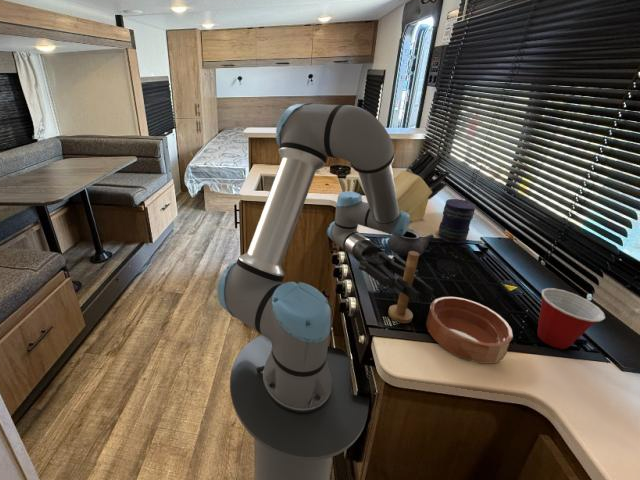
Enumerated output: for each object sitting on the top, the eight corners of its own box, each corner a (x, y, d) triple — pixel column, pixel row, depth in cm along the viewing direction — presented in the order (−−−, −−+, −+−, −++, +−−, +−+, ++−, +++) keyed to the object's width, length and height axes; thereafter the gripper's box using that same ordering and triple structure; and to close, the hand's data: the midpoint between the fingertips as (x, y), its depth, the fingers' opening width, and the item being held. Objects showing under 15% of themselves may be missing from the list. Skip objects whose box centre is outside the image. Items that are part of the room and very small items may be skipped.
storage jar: (450, 244, 120) (460, 209, 114) (431, 233, 129) (439, 200, 123) (472, 241, 122) (482, 207, 116) (452, 230, 130) (460, 197, 125)
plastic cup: (592, 366, 69) (616, 325, 65) (529, 346, 75) (547, 307, 70) (576, 334, 78) (596, 296, 73) (521, 318, 83) (536, 282, 79)
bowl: (434, 355, 73) (440, 336, 71) (419, 308, 88) (423, 292, 85) (518, 373, 68) (527, 353, 66) (488, 320, 83) (494, 303, 81)
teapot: (437, 261, 109) (443, 237, 105) (391, 258, 112) (395, 234, 108) (418, 236, 126) (423, 214, 123) (378, 234, 129) (382, 212, 125)
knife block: (441, 218, 142) (457, 152, 130) (374, 227, 135) (385, 158, 123) (422, 208, 152) (436, 147, 140) (359, 217, 145) (368, 152, 133)
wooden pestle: (389, 320, 84) (402, 257, 76) (386, 306, 89) (399, 245, 81) (414, 325, 82) (430, 261, 74) (409, 310, 87) (424, 249, 80)
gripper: (382, 255, 101) (446, 300, 80) (338, 264, 96) (394, 315, 76) (386, 235, 98) (453, 276, 77) (341, 244, 93) (399, 290, 73)
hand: (424, 295), depth 76 cm, fingers open, 4 cm apart
